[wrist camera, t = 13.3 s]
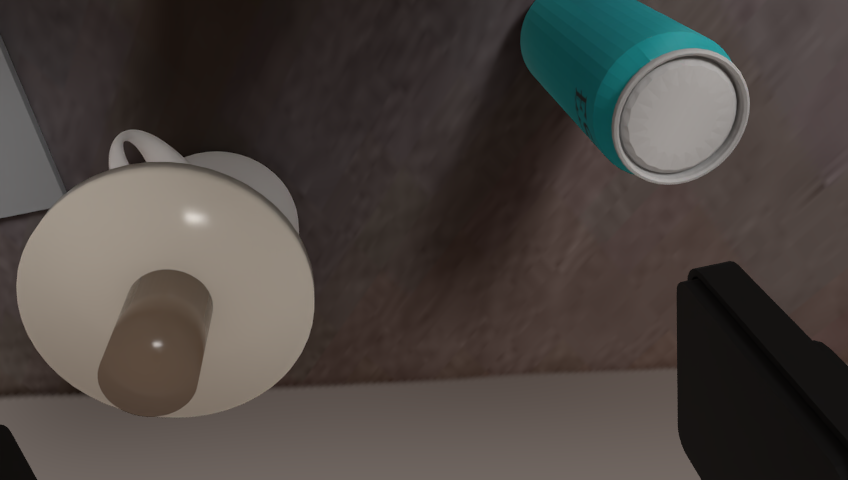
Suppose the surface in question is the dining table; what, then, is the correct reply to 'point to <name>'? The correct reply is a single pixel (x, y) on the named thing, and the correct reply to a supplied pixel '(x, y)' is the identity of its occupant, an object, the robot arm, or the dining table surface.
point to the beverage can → (638, 85)
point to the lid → (166, 290)
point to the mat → (23, 150)
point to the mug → (210, 167)
